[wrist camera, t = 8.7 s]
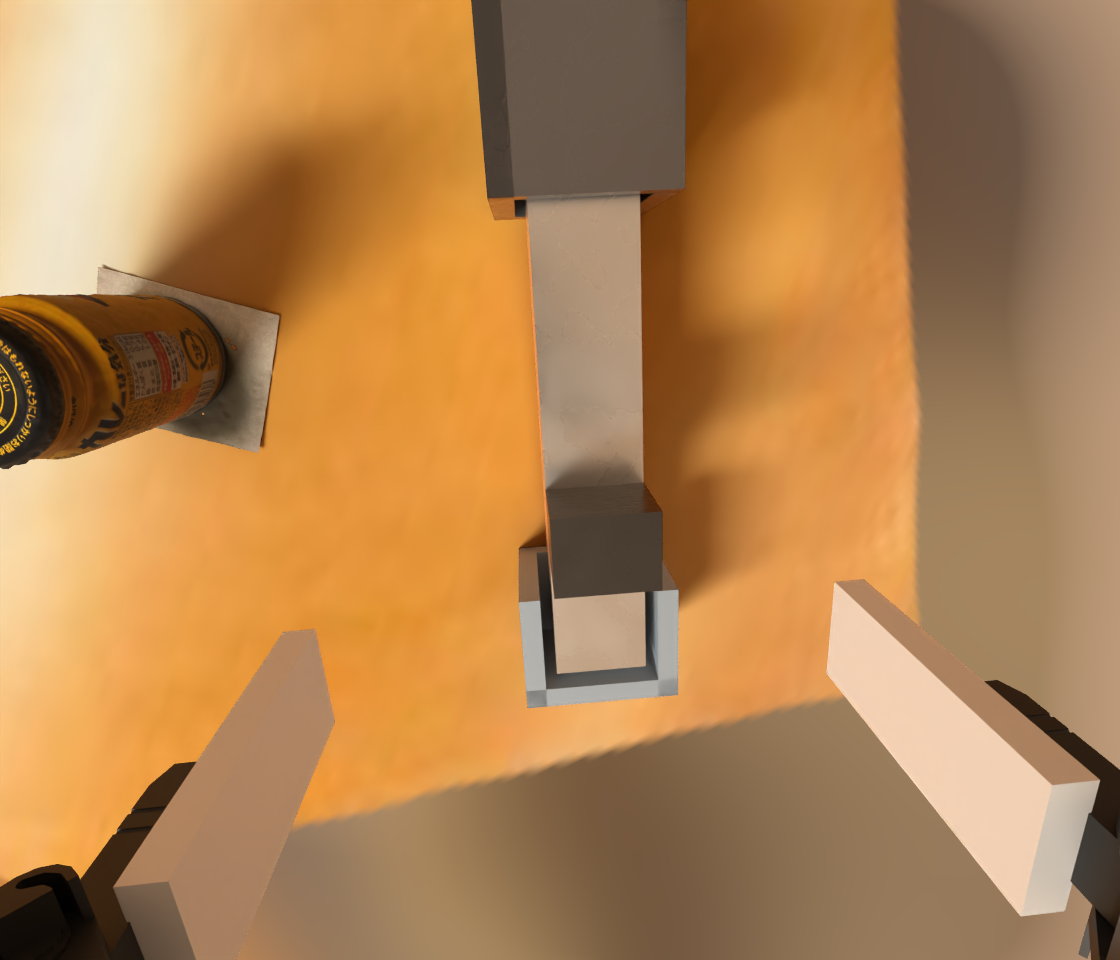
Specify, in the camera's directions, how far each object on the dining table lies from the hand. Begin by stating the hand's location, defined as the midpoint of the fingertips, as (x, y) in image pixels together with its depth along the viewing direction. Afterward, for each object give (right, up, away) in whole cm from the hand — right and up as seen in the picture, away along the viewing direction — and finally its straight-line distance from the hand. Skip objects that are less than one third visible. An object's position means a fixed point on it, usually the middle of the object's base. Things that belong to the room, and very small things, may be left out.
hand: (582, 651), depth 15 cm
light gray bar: (+1, +7, +17) cm, 18 cm away
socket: (+1, -2, +21) cm, 21 cm away
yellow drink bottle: (-20, +10, +16) cm, 27 cm away
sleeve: (0, +21, +13) cm, 25 cm away
